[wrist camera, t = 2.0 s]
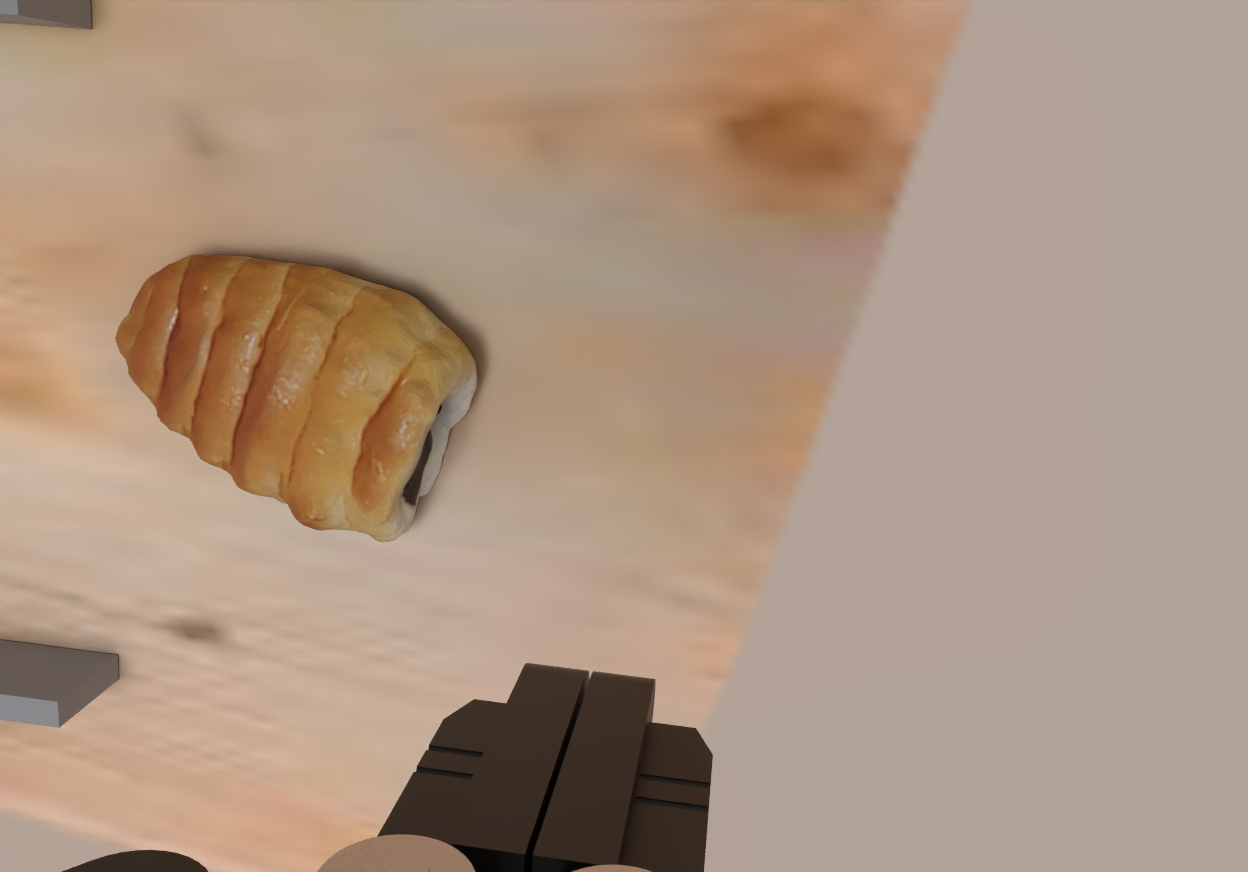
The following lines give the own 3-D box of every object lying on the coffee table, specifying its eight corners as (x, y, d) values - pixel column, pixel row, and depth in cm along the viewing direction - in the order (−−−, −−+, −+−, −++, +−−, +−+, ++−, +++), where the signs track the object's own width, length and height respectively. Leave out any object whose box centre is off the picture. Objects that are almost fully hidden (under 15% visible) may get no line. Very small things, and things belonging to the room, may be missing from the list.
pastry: (125, 409, 32) (43, 441, 28) (191, 188, 30) (112, 192, 26) (422, 539, 32) (378, 589, 28) (506, 326, 30) (471, 349, 26)
